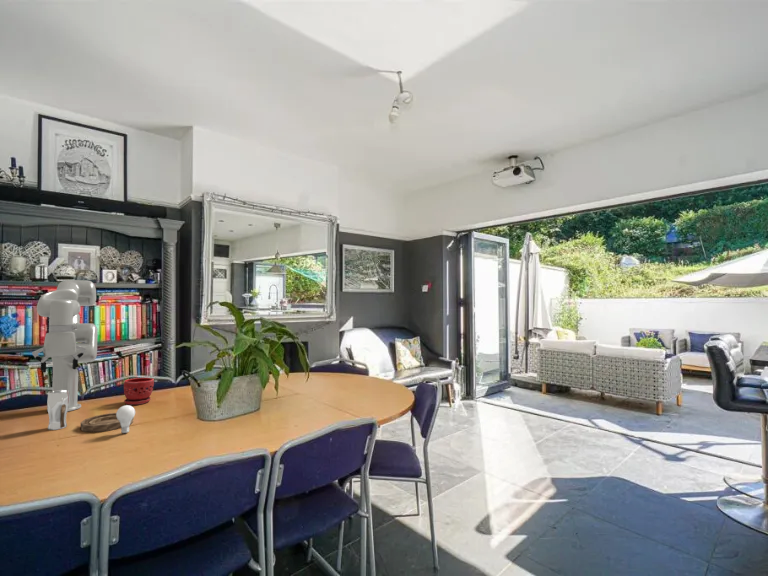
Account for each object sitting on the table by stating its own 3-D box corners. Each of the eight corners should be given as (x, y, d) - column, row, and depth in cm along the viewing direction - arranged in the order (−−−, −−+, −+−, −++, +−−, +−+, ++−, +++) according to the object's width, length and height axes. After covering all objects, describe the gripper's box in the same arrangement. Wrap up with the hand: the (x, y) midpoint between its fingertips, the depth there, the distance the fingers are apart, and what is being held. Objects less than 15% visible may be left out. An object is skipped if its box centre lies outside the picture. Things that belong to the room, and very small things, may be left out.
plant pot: (142, 406, 191) (143, 382, 192) (117, 406, 192) (117, 382, 192) (158, 399, 204) (159, 377, 205) (134, 399, 205) (135, 376, 205)
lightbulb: (138, 431, 155) (139, 404, 155) (123, 436, 149) (124, 408, 149) (127, 429, 157) (127, 402, 157) (111, 434, 151) (112, 406, 151)
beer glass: (55, 431, 154) (56, 393, 155) (41, 429, 156) (43, 392, 156) (72, 425, 161) (73, 389, 162) (59, 424, 163) (60, 389, 163)
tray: (76, 425, 162) (76, 419, 162) (126, 416, 175) (126, 410, 175) (86, 435, 150) (86, 428, 150) (138, 424, 163) (139, 418, 163)
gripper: (84, 327, 169) (83, 366, 168) (31, 329, 156) (30, 372, 155) (88, 328, 164) (87, 368, 163) (34, 330, 151) (32, 374, 150)
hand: (59, 370), depth 159 cm, fingers open, 9 cm apart
